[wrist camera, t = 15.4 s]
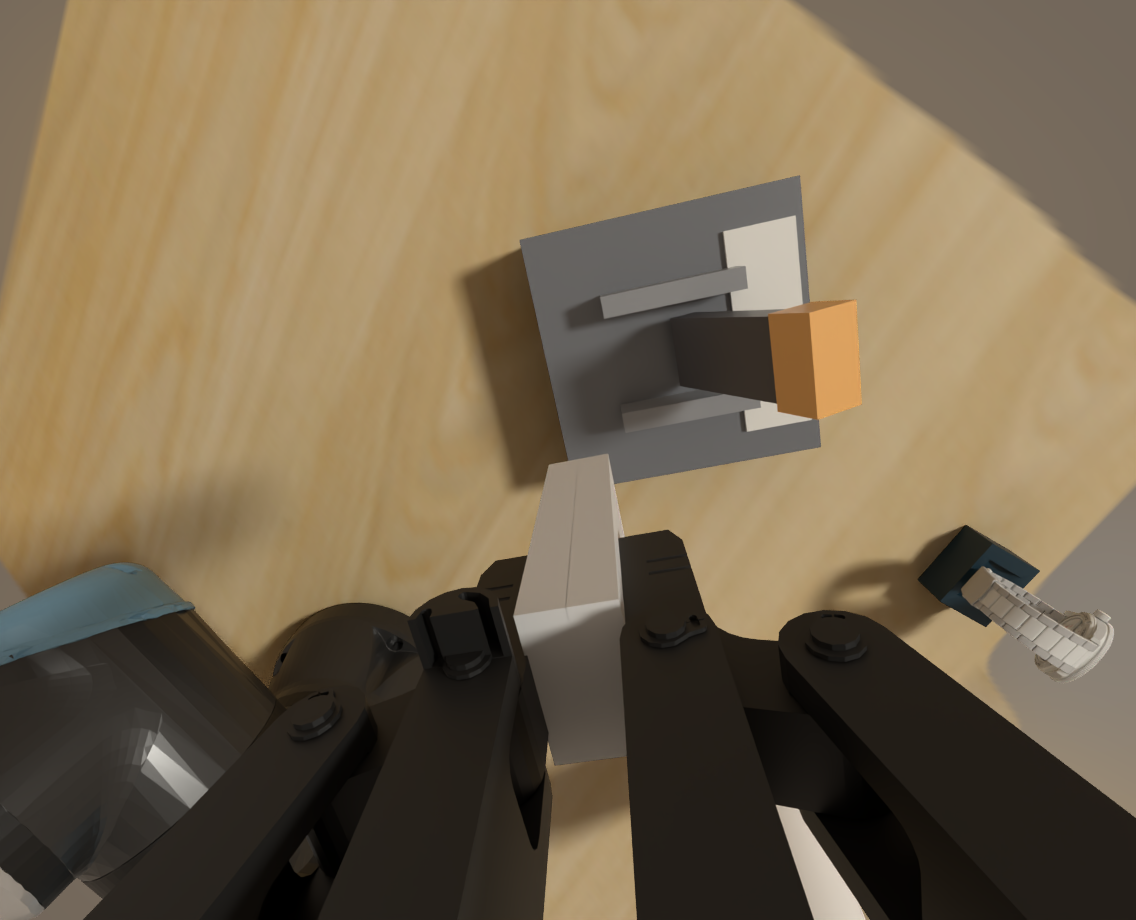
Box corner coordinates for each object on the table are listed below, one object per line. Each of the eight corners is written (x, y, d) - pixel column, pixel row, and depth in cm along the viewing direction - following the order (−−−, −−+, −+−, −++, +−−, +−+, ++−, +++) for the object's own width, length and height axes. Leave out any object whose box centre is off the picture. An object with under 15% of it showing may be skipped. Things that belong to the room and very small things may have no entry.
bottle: (749, 676, 49) (962, 1243, 20) (802, 733, 50) (1066, 1332, 22) (674, 722, 51) (774, 1300, 22) (727, 776, 52) (883, 1378, 24)
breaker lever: (674, 391, 34) (817, 419, 24) (663, 316, 33) (809, 312, 22) (709, 380, 35) (861, 404, 24) (698, 307, 33) (856, 299, 23)
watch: (980, 614, 46) (1092, 716, 36) (899, 569, 45) (990, 660, 35) (1031, 561, 44) (1164, 651, 34) (948, 513, 43) (1059, 590, 33)
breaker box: (577, 463, 43) (573, 505, 36) (530, 243, 39) (513, 237, 31) (792, 424, 42) (836, 458, 34) (770, 188, 37) (815, 168, 29)
